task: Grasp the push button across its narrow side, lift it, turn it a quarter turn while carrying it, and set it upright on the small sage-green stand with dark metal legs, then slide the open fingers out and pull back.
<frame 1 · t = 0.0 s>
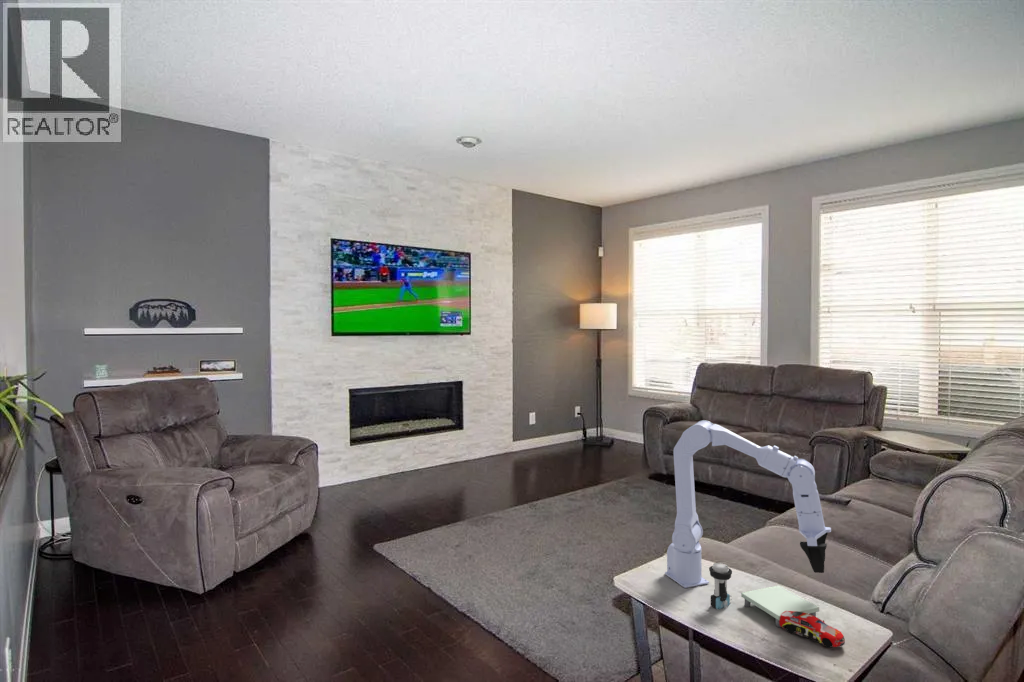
hand: (819, 566, 133), 11 cm above the table, tool pointing down, fingers open, 7 cm apart
race car: (811, 636, 121), on the table, touching stand
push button: (722, 605, 135), on the table
stand: (779, 612, 132), on the table
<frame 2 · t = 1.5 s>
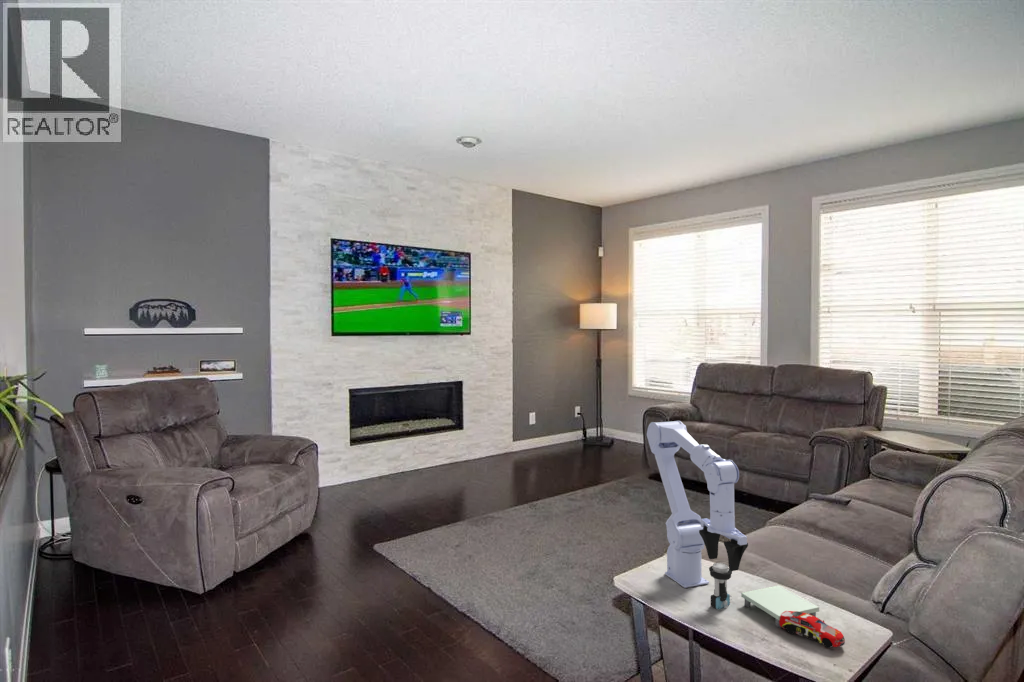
hand: (723, 564, 135), 10 cm above the table, tool pointing down, fingers open, 7 cm apart
nothing on the table moved.
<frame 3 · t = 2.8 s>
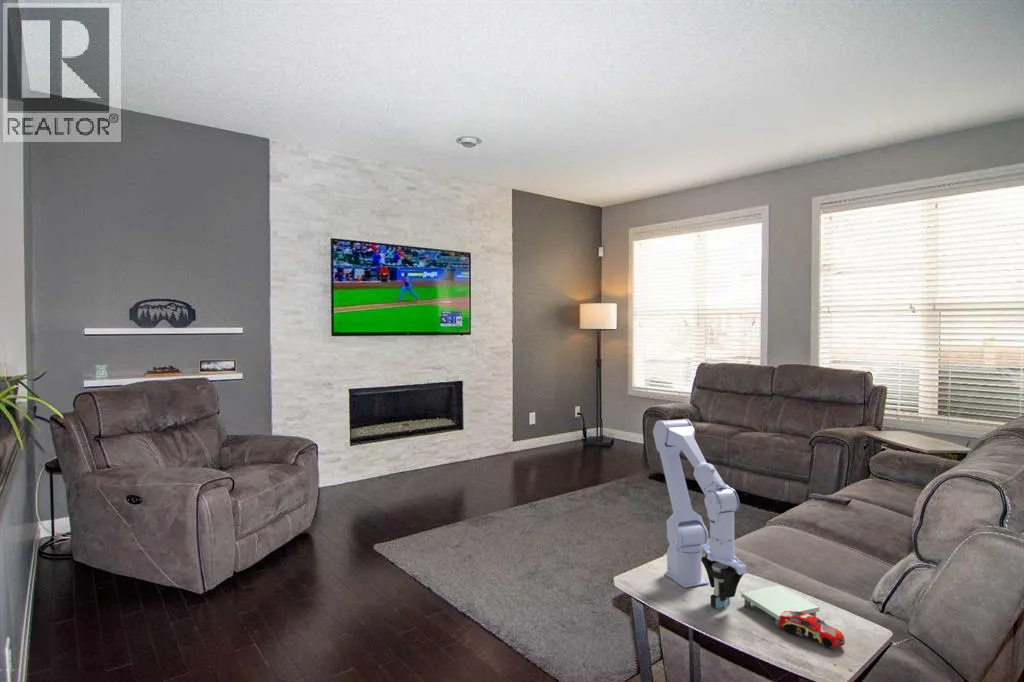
hand: (722, 591, 135), 3 cm above the table, tool pointing down, fingers closed on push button, 5 cm apart
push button: (722, 605, 135), on the table, touching gripper
everything else where it was.
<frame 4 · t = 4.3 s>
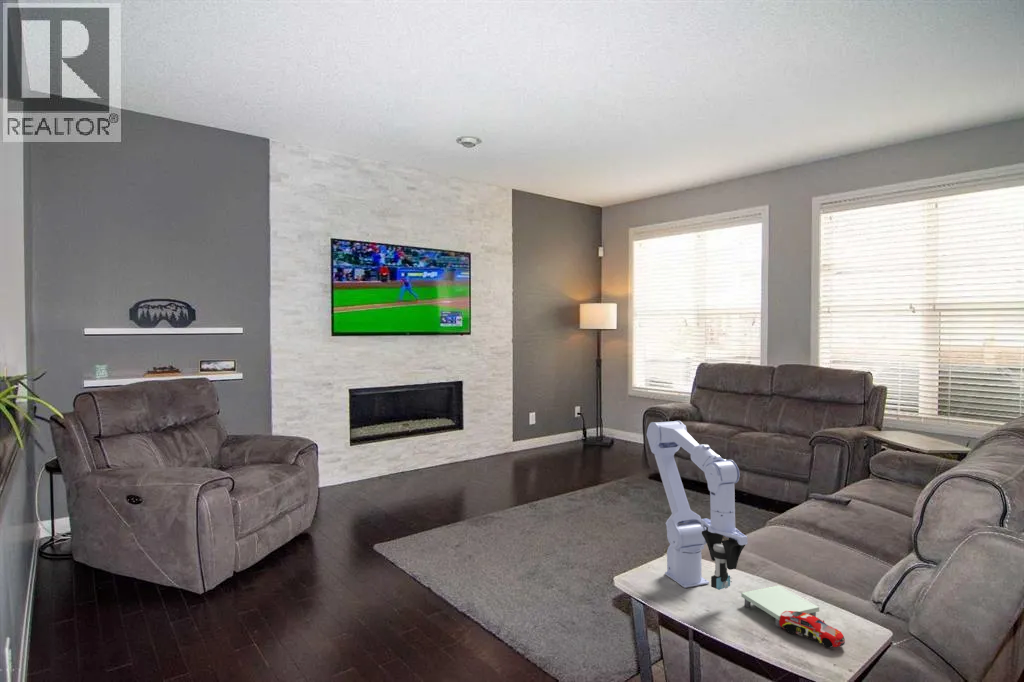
hand: (723, 564, 135), 10 cm above the table, tool pointing down, fingers closed on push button, 5 cm apart
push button: (723, 587, 135), point 5 cm above the table, touching gripper
everything else where it was.
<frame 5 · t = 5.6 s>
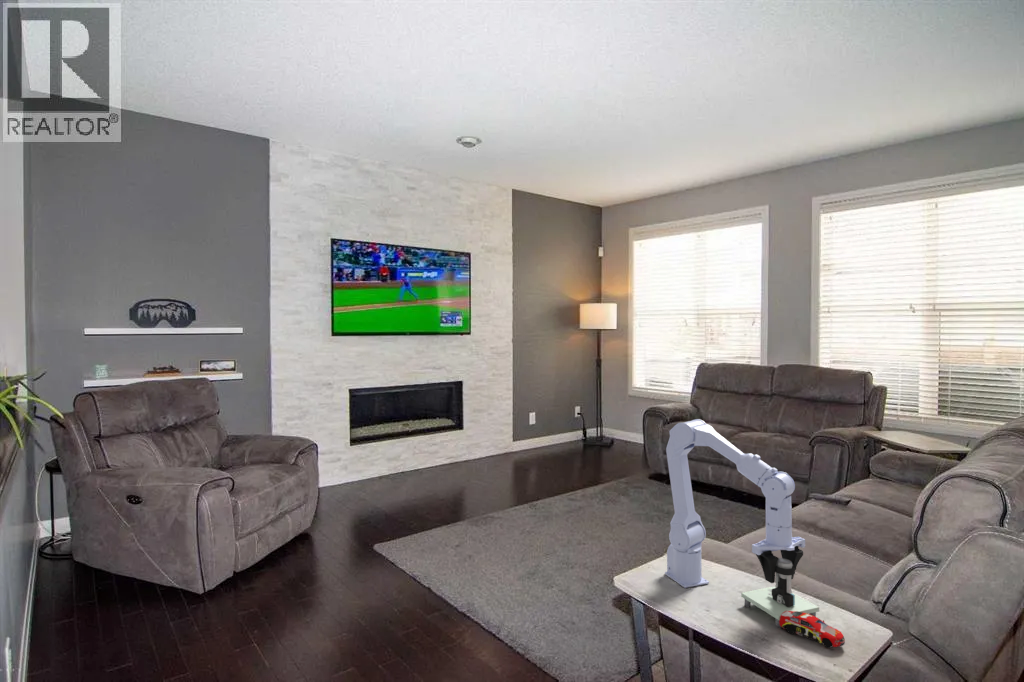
hand: (779, 579, 132), 8 cm above the table, tool pointing down, fingers closed on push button, 5 cm apart
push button: (780, 602, 131), point 3 cm above the table, touching gripper, stand
everything else where it was.
when the fingers open (8 cm above the table, at t = 6.1 s): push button stays where it is, resting on stand.
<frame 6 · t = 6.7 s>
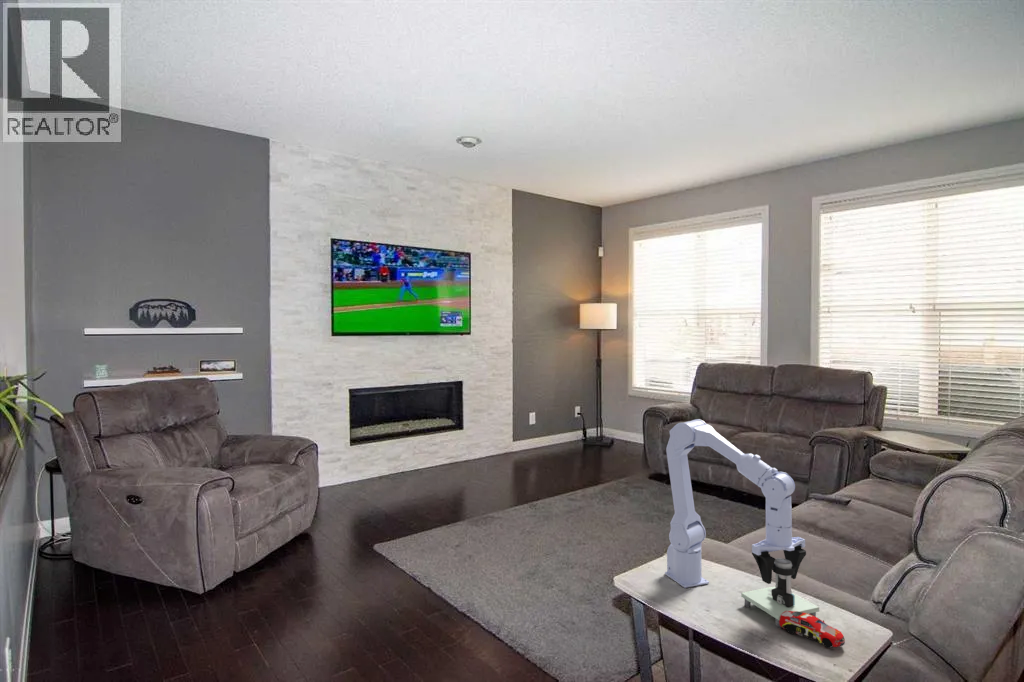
hand: (779, 579, 132), 8 cm above the table, tool pointing down, fingers open, 7 cm apart
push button: (780, 602, 131), point 3 cm above the table, touching stand
everything else where it was.
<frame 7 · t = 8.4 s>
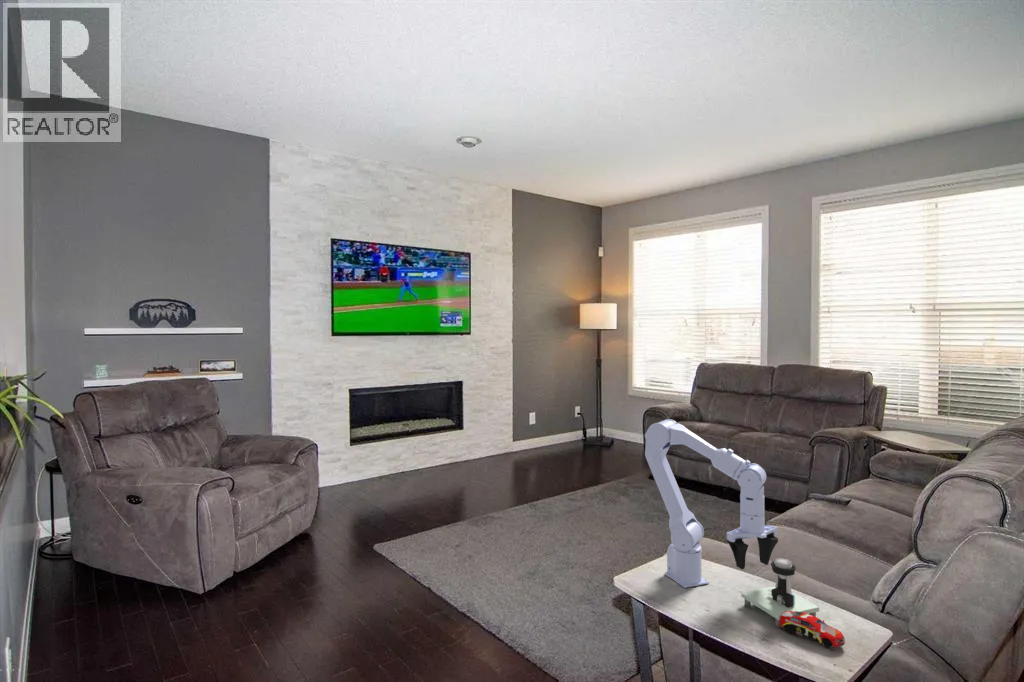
hand: (752, 565, 139), 8 cm above the table, tool pointing down, fingers open, 7 cm apart
nothing on the table moved.
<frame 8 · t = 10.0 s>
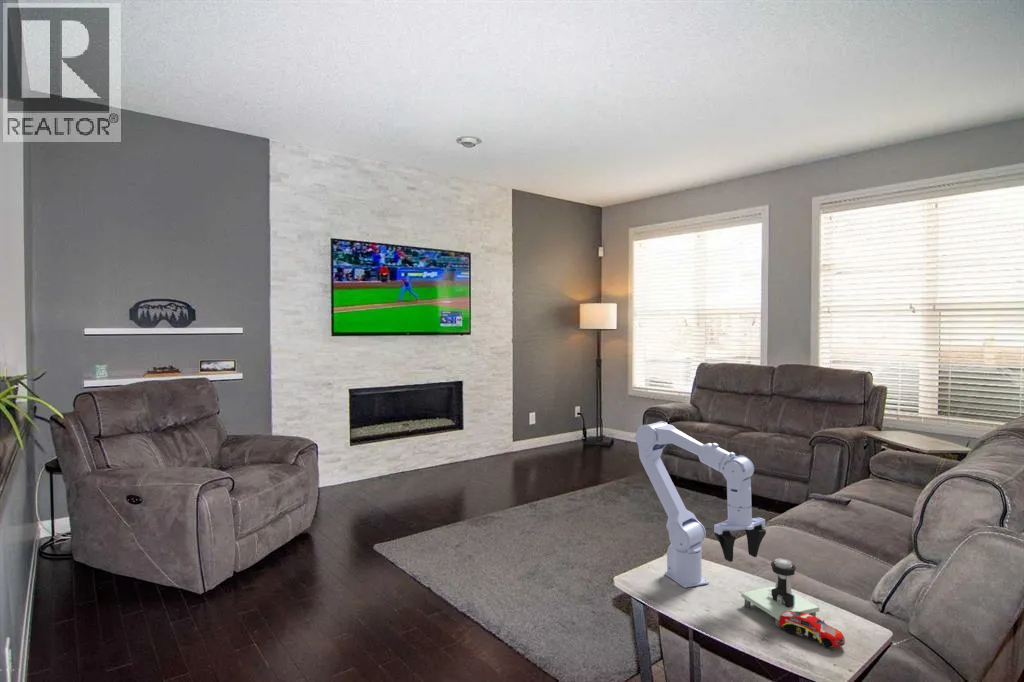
hand: (740, 558, 138), 10 cm above the table, tool pointing down, fingers open, 7 cm apart
nothing on the table moved.
at the end: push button inside the target area on the stand (0.9 cm from its centre), point 2.8 cm above the stand's base; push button tilted 0°; the gripper is holding nothing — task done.
